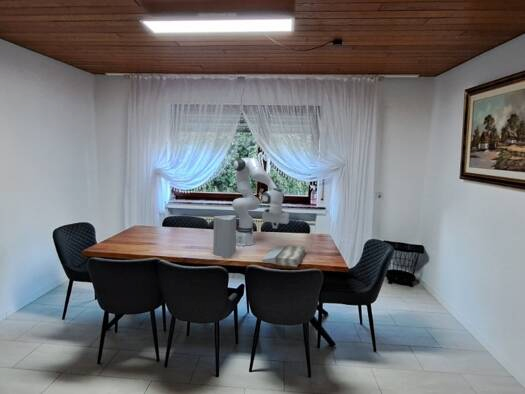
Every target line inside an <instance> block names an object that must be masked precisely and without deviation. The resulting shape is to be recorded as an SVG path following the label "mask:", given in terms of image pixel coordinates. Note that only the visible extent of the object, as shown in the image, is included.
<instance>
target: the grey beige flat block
mask: <svg viewBox="0 0 525 394" xmlns="http://www.w3.org/2000/svg"><path fill="white" fill-rule="evenodd" d="M285 246H286V248H285V249H284V250H283V251H282V252H281V254H280V255H279V256H278V257H277V263H276V265H277V266H286V267H287V266H288V267H296V268H297V267H298V266H299V264H300V263H301V261H302V259H303V258H304V255H305V254H306V246H298V245H290V244H289V245H285ZM299 262H300V263H299Z"/></svg>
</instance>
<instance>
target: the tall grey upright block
mask: <svg viewBox="0 0 525 394" xmlns="http://www.w3.org/2000/svg"><path fill="white" fill-rule="evenodd" d="M236 231H237V215H229V214H228V215H217V216H216V215H214V217H213V245H212V246H213V247H212V248H213V251H212V253H213V255H215V256H218V257H220V256H221V258H223V257H224V258H223V259H230V258H232V257H233V255H235V253H236V252H237V251H236V248H237V247H236V246H237V245H236Z"/></svg>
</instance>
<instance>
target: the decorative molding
mask: <svg viewBox="0 0 525 394" xmlns="http://www.w3.org/2000/svg"><path fill="white" fill-rule="evenodd" d="M286 246H287V245H283V246H278V247H273V248H272V249H271V251H269V252H268V253H267V254H266V255H265V256H263V258H261V261H262V263H267V264H268V263H271V264H275V265H277V257H278V256H279V255H280V254H281V252H282V251H283V250H284V249H285V248H286Z"/></svg>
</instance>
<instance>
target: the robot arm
mask: <svg viewBox="0 0 525 394" xmlns="http://www.w3.org/2000/svg"><path fill="white" fill-rule="evenodd" d="M232 166H233V169H234V170H235V171H236V172H235V181H236V182H235V183H236V188H237V191H238V193H239V194H241V195H242V197H238V198H235V199H234V200H233V201H232V204H231V206H232V209H233V210H234V211H235V212H236V213H237V217H238V219H239V221H238V222H239V223H238V224H239V225H238V226H236V246H239V247H245V246H252V245H253V246H254V244H255V242H254V237H253V235H254V227H253V221H254V219H253V217H252V216H251V215H250V214H249V211H254V210H255V211H256V210H257V209H259V208H260V207H261V200H262V202H263V204H265V205H270V207H266V208H264V209H263V213H262V214H261V218H262V219H261V221H262V222H266V223H271V226H272V229H278V226H279V224H284V225H288V224H289V223H290V219H289V218H290V212H288V211H286V210H285V211H284V210H283V202H284V200H285V195H284V193H283V190H282V189H281V188H279V186H278V185H277V183H276V182H275V180H274V179H273V177H272V176H271V175H270V174H268V173H267V172H266V170H265V169H264V167H263V165H262V164H261V162H260V160H259V159H258V158H256V157H241V158H240V157H239V158H236V159H234V160H233V162H232ZM249 174H250V176H249ZM249 177H251V178H252V179H253V181H256V182H258V183H262V184H265V185H266V186H267V187H268V188H269V189H270V190H269V191H264V192H263V193H262V196H261V200H260V199H259V198H258V197H257V196H255V194H254V192H253V190H252V187H251V182H250V178H249ZM274 224H275V225H274Z"/></svg>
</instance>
